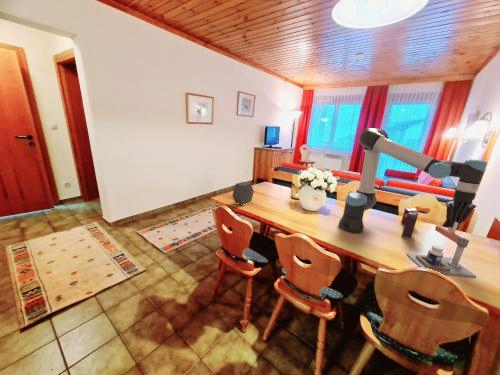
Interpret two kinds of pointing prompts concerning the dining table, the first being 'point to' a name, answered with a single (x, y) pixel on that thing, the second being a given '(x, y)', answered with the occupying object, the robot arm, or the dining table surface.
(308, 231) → the dining table surface
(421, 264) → the latch board
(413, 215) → the supplement box
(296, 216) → the dining table surface
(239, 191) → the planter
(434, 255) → the pill bottle
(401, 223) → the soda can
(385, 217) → the dining table surface
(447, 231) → the bar
